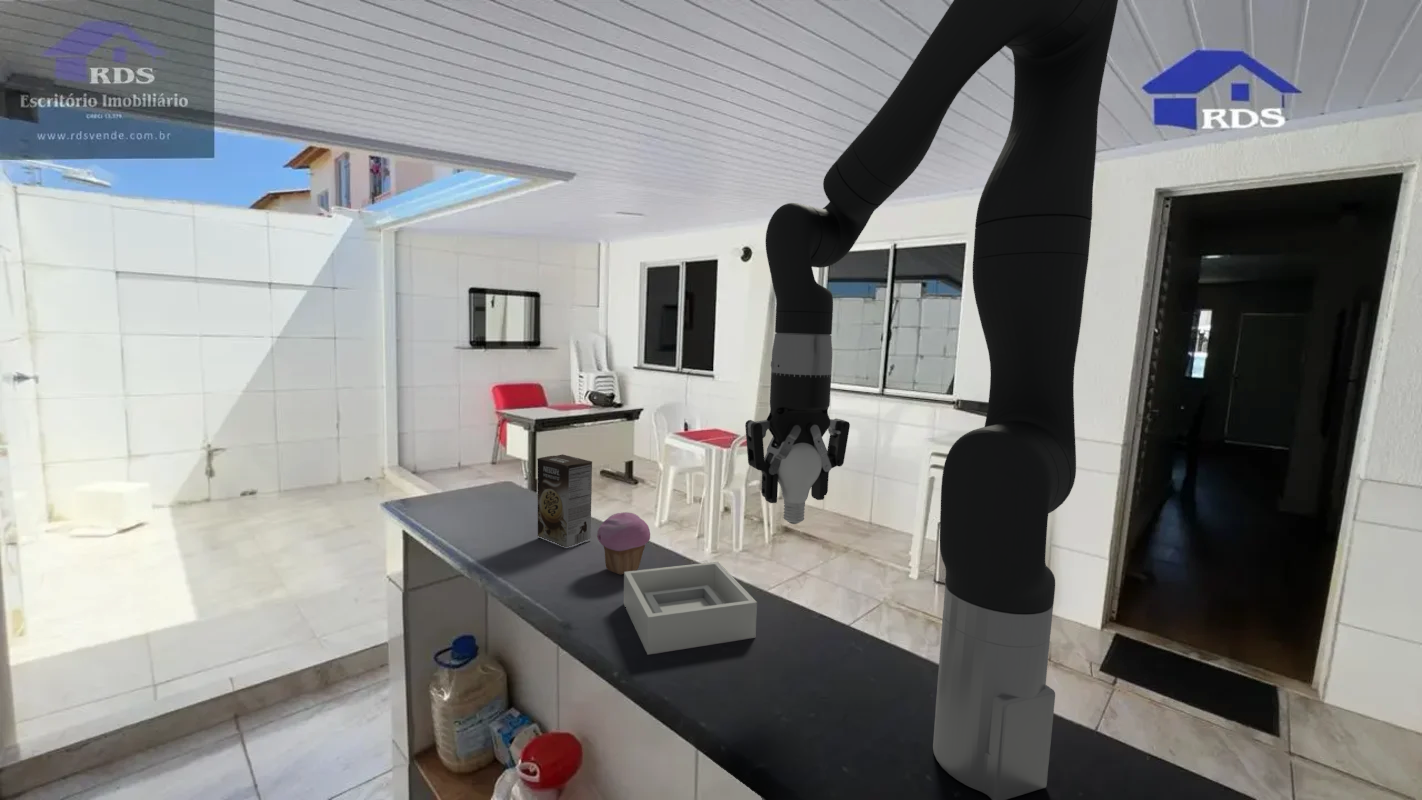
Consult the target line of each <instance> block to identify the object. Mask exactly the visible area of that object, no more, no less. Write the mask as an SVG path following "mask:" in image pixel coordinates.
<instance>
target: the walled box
mask: <svg viewBox="0 0 1422 800" xmlns="http://www.w3.org/2000/svg"><path fill="white" fill-rule="evenodd" d="M623 606H624V608H625V607H626V608H625V609H626V612H627V614H628V616H629V618H630V621H631V623H632V624H633V626H634V629H635V631H636V634H637V635H638V638H639V639H640V641H641V645H642V646H643V648H644V650H645V652H646V655H648V656H649V655H656V654H661V653H668V652H673V651H680V650H685V649H693V648H698V647H705V646H712V645H717V644H724V643H731V642H736V641H742V640H748V639H749V640H750V639H754V638H756V634H757V633H756V631H757V611H758V610H757V609H758V601H756V600H755V599H754V598H753V596H752V595H751V594H750V593H749V592H748V591H747V590H746V589H745V588H744V587H743V586H742V584H740V583H739V582H738V581H737V580H736V579H735V578H734V577H733V576H732V574H731V573H729V572H728V570H726V568H724V567H723V565H722V564H721V563H720V562H719V561H711V562H703V563H701V562H699V563H693V564H686V565H685V564H684V565H675V566H665V567H654V568H645V569H637V570H636V571H627V572H624V574H623Z"/></svg>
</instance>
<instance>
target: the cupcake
mask: <svg viewBox="0 0 1422 800" xmlns="http://www.w3.org/2000/svg"><path fill="white" fill-rule="evenodd" d="M596 537H597V541H599V543H600V544H601V545H602V547H603V550H604V562H605V567H606V569H607V571H610V572H612V573H614V574H617V575H624V572H627V571H636V570H639V568H640V565H641V562H642V556H643V553H644V550H645V548H646V547H645V546H646V544H647V543H649V542H650V540H651V532H650V527H649V525H648V524H647V522H646V521H645V520H643V519H642V518H640V516H639V515H637V514H635V513H632V512H628V511H626V512H617V513H614V514H611V515H610V516H609V517H607V518H606V519H605V520H604V521H603V522H602V523H601V525H600V526H599V527H598V529H597V534H596Z"/></svg>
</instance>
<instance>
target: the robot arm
mask: <svg viewBox="0 0 1422 800" xmlns="http://www.w3.org/2000/svg"><path fill="white" fill-rule="evenodd" d="M1118 4H1119V0H953V1H952V2H951V4H950V5H949V7H948V8H947V10H946V12H945V13H944V15H943V16H942V18H940V21H939V22H938V24H937V25H936V27H935V28H934V29H933V32H932V33H931V34H930V35H929V36H928V39H927V40H926V42H925V43H924V45H923V46H922V48H921V49H920V51H919V53H917V56H916V57H915V58H914V60H913V62H912V63H911V65H910V66H909V68H908V69H907V71H906V72H905V74H904V76H903V77H902V78H901V80H900V81H899V83H898V84H897V86H896V88H895V89H894V90H893V91H892V93H891V94H890V96H889V97H888V98H887V100H886V101H885V102H884V103H883V105H882V107H881V108H880V109H879V111H878V112H876V114H875V116H874V117H873V118H872V119H871V120H870V122H869V123H868V124H867V125H866V126H865V127H864V128H863V129H862V131H861V132H860V133H859V134H858V135H857V136H856V137H855V139H854V140H853V141H852V142H851V143H850V144H849V145H848V146H847V148H846V149H845V150H844V151H843V152H842V153H841V155H840V156H839V157H838V158H837V159H836V161H835V162H834V163H833V164H832V165H831V166H830V168H829V169H828V171H826V173H825V175H824V179H823V184H822V185H823V192H824V194H825V196H826V198H827V199H828V201H829V202H828V203H827V204H826V205H825V206H824V207H823V208H820V207H815V206H811V205H808V204H802V203H799V202H789V203H785V204H782V205H781V206H780V207H778V208H777V209H776V210H775V211H774V213H773V214H772V215H771V216H770V217H771V218H770V219H769V221H768V225H767V228H766V231H765V232H766V233H765V250H766V251H765V252H766V257H767V263H768V267H769V272H770V277H771V283H772V287H773V291H774V295H775V302H776V304H775V306H776V307H775V324H774V325H775V328H774V339H773V343H772V345H773V346H772V351H771V360H770V368H771V369H770V389H769V390H770V392H769V394H770V395H769V407H770V408H769V414H768V417H767V418H766V419H764V420H757V421H756V420H755V421H754V420H752V419H749V420H747V421H745V437H746V438H745V440H746V452H747V453H746V454H747V463H748V465H749V466H751V467H752V468H754V469H756V470H758V471H761V488H760V489H761V490H760V491H761V496H762V497H764V500H765V501H767V502H768V503H769V504H777V501H778V491H779V489H778V488H779V487H778V486H779V483H778V475H777V474H776V473H777V471H778V469H779V467H780V464H781V460H782V459H786V457H787V456H788V454H789V452H790V450H791V448H792V446H793V445H795V444H797V443H808V444H810V445H812V446H814V447H815V449H816V450H817V451H818V453H819V455H820V457H821V461H822V468H821V473H820V475H819V477H818V479H817V480H816V481H815V483H814V484H813V485H812V487H811V488H810V490H811V492H810V494H811V497H812V498H813V499H815V500H817V501H824V499H825V496H827V493H828V491H829V489H828V488H829V474H830V471H831V469H833V468H835V467H842V466H843V465H844V462H845V459H846V458H845V457H846V452H847V451H846V450H847V446H848V438H849V433H850V427H851V424H850V422H849V421H846V420H844V419H841V418H833V419H832V418H830V415H829V411H828V410H829V408H830V406H831V403H830V402H831V386H832V371H833V369H832V368H833V344H832V342H833V341H832V333H833V317H834V316H833V313H834V298H833V293H832V292H831V291H830V289H828V288H826V287H825V286H822V285H820V284H819V283H818V282H817V281H816V279H815V275H814V270H813V268H827V267H830V266H832V265H834V264H836V263H838V262H839V261H841V260H842V259H843V258H844V257H845V256H847V254H848V253H849V252H850V251H851V250H852V248H853V247H854V245H855V244H856V242H857V240H858V238H859V237H860V236H861V234H862V233H863V230H864V229H865V227H866V226H867V224H868V222H869V220H870V218H871V217H872V215H873V213H874V212H875V211H876V209H879V207H880V206H881V205H882V204H884V202H885V201H887V199H888V198H889V197H891V196H892V194H893V193H894V192H895V191H896V190H898V189H899V188H900V187H901V186H902V185H903V184H904V182H905V181H907V180H908V178H909V177H910V176H911V175H913V173H914V172H915V171H916V169H917V168H918V167H919V166H920V164H921V163H922V161H923V160H924V158H925V157H926V155H927V153H928V151H929V150H930V148H931V146H932V144H933V142H934V139H935V137H936V135H937V134H938V130H939V129H940V126H941V125H942V121H943V119H944V118H945V115H946V114H947V112H948V110H949V108H950V107H951V105H952V104H953V103H954V100H955V99H956V97H957V96H958V94H959V93H960V91H962V89H963V88H964V87H965V85H966V84H967V83H968V81H970V79H971V78H972V77H973V76H974V75H975V74H976V73H977V71H979V70H980V68H982V66H984V65H985V64H986V63H987V62H988V61H989V60H991V59H992V58H993V57H994V56H995V55H996V54H997V53H999V52H1000V51H1001V50H1002V49H1003V48H1005V47H1006V48H1008V49H1009V50H1011V52H1012V55H1013V67H1014V69H1013V70H1014V86H1013V87H1014V90H1013V91H1014V92H1013V107H1012V108H1013V110H1012V116H1011V123H1010V127H1009V130H1008V134H1007V137H1006V141H1005V143H1004V145H1003V147H1002V149H1001V152H1000V153H999V156H998V158H997V160H996V161H995V164H994V166H993V168H992V170H991V172H990V173H989V176H988V178H987V181H986V184H985V185H984V188H983V191H982V193H981V195H980V198H979V202H978V207H977V211H976V216H975V217H976V218H975V224H974V225H975V227H974V242H973V255H972V256H973V257H972V258H973V259H972V286H973V293H974V299H975V304H976V308H977V312H978V316H979V320H980V324H981V329H982V331H983V336H984V339H985V344H986V347H987V351H988V358H989V367H990V370H989V371H990V376H989V377H990V378H989V379H990V381H989V393H988V395H989V396H988V403H987V411H986V416H985V417H986V418H985V422H984V427H983V426H982V427H979V428H976V429H975V428H974V429H973V430H970V431H969V432H966V433H965V434H963V435H961V437H959V438H958V439H957V440H956V441H955V442H954V443H953V445H952V446H951V448H950V449H949V451H948V453H947V456H946V458H945V462H944V465H943V468H942V469H943V470H942V476H941V484H940V485H941V487H940V488H941V489H940V490H941V491H940V492H941V493H940V515H939V516H940V518H939V520H940V521H939V550H940V551H939V552H940V555H941V556H940V557H941V559H942V562H943V565H944V568H945V581H944V582H945V583H944V584H945V585H944V596H943V597H944V598H943V610H942V620H941V635H940V647H939V648H940V650H939V661H938V674H937V687H936V699H935V700H936V701H935V715H934V728H933V741H932V750H933V751H932V752H933V754H934V757H935V759H936V761H937V762H938V763H939V766H940V767H941V768H942V769H943V770H944V771H945V772H946V773H947V774H949V776H951V777H953V778H954V779H955V780H957V781H958V782H959V783H962V784H963V785H965V786H967V787H969V788H971V789H973V790H976V791H979V792H980V793H983V794H985V795H987V797H989V798H990V799H991V800H1009V799H1013V798H1016V797H1020V796H1022V795H1025V794H1029V793H1032V792H1035V791H1038V790H1042V789H1045V788H1046V787H1047V786H1048V785H1047V783H1048V775H1049V772H1048V771H1049V763H1050V753H1051V742H1052V734H1053V733H1052V732H1053V724H1054V723H1053V722H1054V711H1055V702H1056V692H1055V690H1054V689H1053V688H1051V687H1050V686H1048V685H1047V684H1046V683H1047V673H1048V663H1049V662H1048V661H1049V651H1050V644H1051V643H1050V642H1051V633H1052V622H1053V612H1054V603H1055V593H1056V578H1055V575H1054V573H1053V572H1052V570H1051V569H1050V567H1048V566H1047V564H1046V563H1047V562H1046V553H1047V551H1046V550H1047V534H1048V520H1049V514H1050V513H1053V512H1054V511H1056V510H1057V509H1058V508H1059V507H1060V506H1061V505H1063V504H1064V502H1065V501H1066V500H1067V498H1068V497H1070V493H1071V492H1072V490H1073V488H1074V485H1075V482H1076V481H1075V480H1076V475H1077V452H1076V451H1077V450H1076V429H1075V398H1074V392H1075V391H1074V384H1075V382H1074V381H1075V364H1076V357H1077V351H1078V346H1079V339H1080V331H1081V323H1082V316H1083V315H1082V314H1083V308H1084V307H1083V306H1084V296H1085V286H1086V279H1087V278H1086V277H1087V270H1088V265H1089V256H1090V255H1089V253H1090V246H1091V245H1090V243H1091V232H1092V231H1091V230H1092V219H1093V197H1094V196H1093V193H1094V180H1095V167H1096V156H1097V153H1096V152H1097V139H1098V137H1097V136H1098V134H1097V133H1098V118H1099V117H1098V116H1099V105H1100V97H1101V90H1102V84H1103V78H1104V73H1105V68H1106V64H1107V59H1108V53H1109V50H1110V48H1109V47H1110V42H1111V38H1112V33H1113V28H1114V24H1115V20H1116V19H1115V18H1116V13H1117V8H1118ZM768 430H769V432H770V434H771V435H772V438H771V439H770V441H769V443H768V446H767V447H766V454H765V452H764V438H766V435H767V431H768ZM827 431H828V434H829V439H828V443H827V444H828V446H827V447H826V443H825V441H824V439H823V437H824V435H825V434H826V433H827ZM779 446H780V448H779V449H777V448H778V447H779Z"/></svg>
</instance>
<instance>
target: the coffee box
mask: <svg viewBox="0 0 1422 800" xmlns="http://www.w3.org/2000/svg"><path fill="white" fill-rule="evenodd" d="M536 461H537V537H538V536H539V537H542V538H544V539H547V540H549V541H552V542H555V543H557V544H559V545H561V546H564V547H569V546H572V545H575V544H578V543H580V542H583V541H585V540H588V539H590V538H591V537H592V533H591V532H592V530H591V529H592V492H593V491H592V490H593V489H592V486H593V483H592V482H593V461H591V460H588V459H584V458H580V457H575V456H570V455H566V454H564V453H563V454H558V455H549V456H545V457H544V456H542V457H538V458H537V460H536Z"/></svg>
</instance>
